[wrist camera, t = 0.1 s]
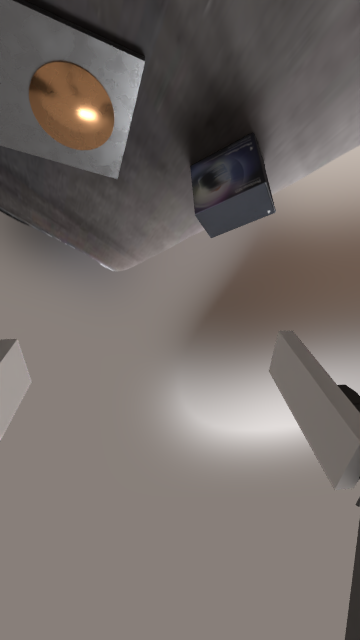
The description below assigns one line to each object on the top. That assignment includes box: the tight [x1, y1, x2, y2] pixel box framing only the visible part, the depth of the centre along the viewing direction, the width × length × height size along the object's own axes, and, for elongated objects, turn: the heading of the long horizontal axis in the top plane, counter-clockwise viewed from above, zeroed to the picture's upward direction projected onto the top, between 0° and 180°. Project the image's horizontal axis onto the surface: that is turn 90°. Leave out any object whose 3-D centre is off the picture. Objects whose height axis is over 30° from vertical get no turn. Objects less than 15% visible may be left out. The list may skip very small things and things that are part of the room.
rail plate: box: [0, 0, 145, 179], centre depth 33 cm, size 28×16×1 cm, turn 68°
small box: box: [190, 133, 276, 238], centre depth 42 cm, size 11×6×10 cm, turn 120°
